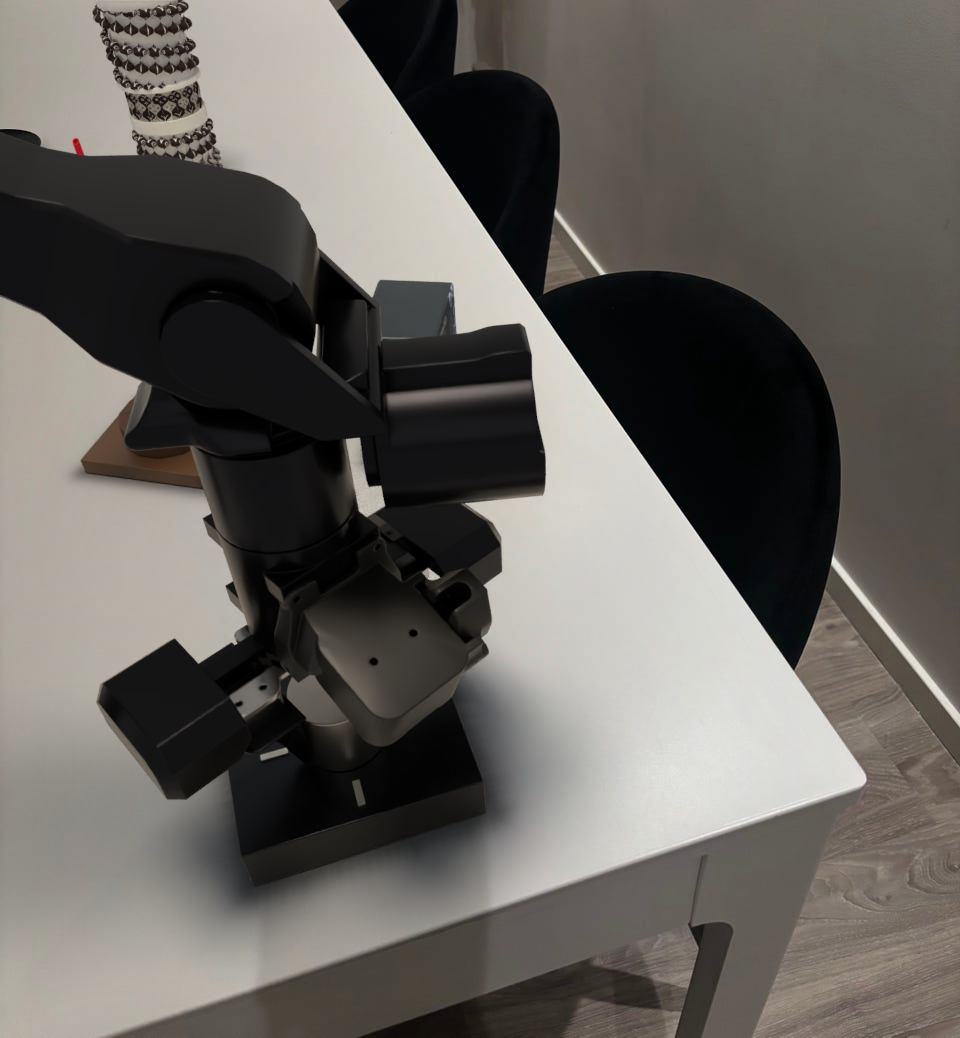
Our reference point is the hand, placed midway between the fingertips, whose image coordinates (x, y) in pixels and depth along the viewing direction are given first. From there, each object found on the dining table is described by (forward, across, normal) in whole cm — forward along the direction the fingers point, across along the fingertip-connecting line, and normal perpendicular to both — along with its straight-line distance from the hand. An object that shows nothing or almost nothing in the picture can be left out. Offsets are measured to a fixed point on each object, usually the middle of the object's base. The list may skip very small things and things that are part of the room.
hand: (341, 729), depth 49 cm
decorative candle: (+4, +32, +72) cm, 79 cm away
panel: (+4, 0, 0) cm, 4 cm away
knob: (0, 0, 0) cm, 0 cm away
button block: (+4, +8, +32) cm, 33 cm away
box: (+4, +22, +20) cm, 30 cm away
